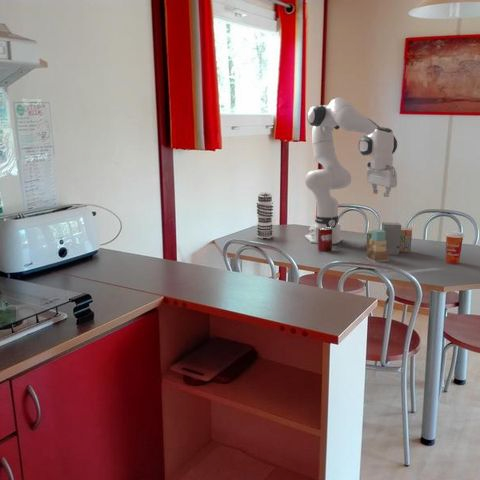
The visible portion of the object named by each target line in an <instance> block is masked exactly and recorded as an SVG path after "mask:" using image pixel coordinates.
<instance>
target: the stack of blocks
mask: <svg viewBox="0 0 480 480" xmlns="http://www.w3.org/2000/svg"><path fill="white" fill-rule="evenodd" d="M412 236H413V227H406V226H401V236H400V248H399V252H404V253H408V254H411V249H412V238H413V237H412ZM371 238H372V230H368V231H367V232H366V243H365V244H366V247H365V248H366V250H367V249H369V245H370V239H371Z"/></svg>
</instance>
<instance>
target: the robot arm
mask: <svg viewBox="0 0 480 480" xmlns="http://www.w3.org/2000/svg"><path fill="white" fill-rule="evenodd" d="M307 121H308V123H309V125H310V126H312V130H311V141H312V142H311V143H312V150H313V158H314V160H315V161H316V162H317V163H318V164H320V165H321V166H323V168H324V169H321V168H320V169H314V170H310V171H309V172H307V173H306V175H305V178H304V179H305V182H304V183H305V185H306V188H308V189H309V190H310V191H311V192H312V193H313V195H314V197H315V200H316V215H315V220H314V222H313V224H312V225H310V227H309V228H308V231H307V232H308V234H305V235H304V237H305V238H306V240H308V242H309V243H310V244H311V243H312V244H318V228H319V227H331V228H332V229H333V240H332V245H334V244H339V243H340V242H341V241H343V240H344V239H343V237H341V235H342V234H341V225H340V224H339V219H340V218H339V201H338V200H337V199H336V198H335V197H334V196H332V195H331V191H332V190H342V189H344V188H347V187H349V186H350V184H351V182H352V176H351V173H350V171H349V170H348V169H347V168H345V167H344V166H343V165H342V164H341V162H340V161H339V159H338V157H337V154H336V149H335V144H334V136H333V131H334V130H339V129H342V130H344V131H347V132H356V133H362V134H366V135H363V136H362V137H360V139H359V142H358V151H359V153H360V154H361V155H362V156H366V157H372V159H371V160H369V161H368V162H366V167H367V168H366V181H367V183H369V184H371V189H372V194H374V195H378V194H379V190H378V187H377V186H380V187H384V189H385V191H384V192H383V197H384V198H385V197H386V198H389V197H390V192H391V190H392V188H393V189H394V188H396V187H397V186H398V185H397V184H398V173H397V171H396V168H395V167H394V165H393V164H394V163H393V162H394V161H393V160H394V156H393V154H394V153H395V152H396V151H397V148H398V140H397V137H396V136H395V135H394V131H393V130H392V129H391V128H389V127H382V126H381V127H380V126H379V125H378V124H377V123H376V122H374V121H373V120H372V119H370V118H369V117H366V116H365V115H364V114H362V113H361V112H360V111H359V110H357V109H356V108H355V107H354V105H352V104H351V103H350V102H349V101H348V100H346V99H344V98H342V97H336V98H333V99H331V101H330V102H329V104H323V105H322V104H321V105H319V104H318V105H314V106H311V107H309V109H308V112H307Z"/></svg>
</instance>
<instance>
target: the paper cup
mask: <svg viewBox="0 0 480 480" xmlns="http://www.w3.org/2000/svg"><path fill="white" fill-rule="evenodd" d="M445 236H446V237H445V238H446V241H445V242H446V243H445V245H446V246H445V262H446V264H449V265H458V264H459V263H460V258H461V252H462V246H463V240H464V237H465V236H464V234H463V232H461V231H456V230H453V231H452V230H451V231H447V232H446V234H445Z"/></svg>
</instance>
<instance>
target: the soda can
mask: <svg viewBox="0 0 480 480" xmlns="http://www.w3.org/2000/svg"><path fill="white" fill-rule="evenodd" d="M332 240H333V229H332V228H331V227H319V228H318V243H317V252H319V253H321V252H324V253H325V252H326V253H327V252H333V244H332Z"/></svg>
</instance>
